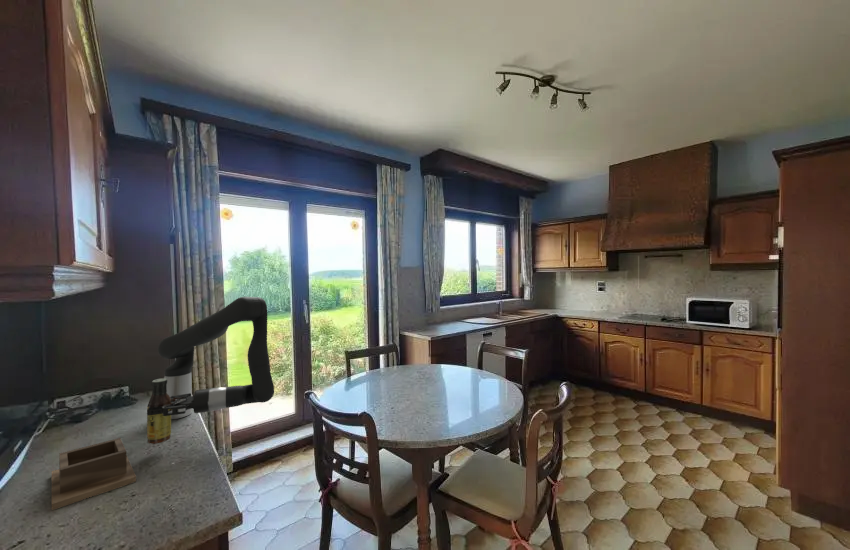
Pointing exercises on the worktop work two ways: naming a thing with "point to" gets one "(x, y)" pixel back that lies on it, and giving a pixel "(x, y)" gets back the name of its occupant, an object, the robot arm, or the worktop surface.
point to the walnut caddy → (90, 472)
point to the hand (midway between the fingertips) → (150, 408)
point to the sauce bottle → (158, 423)
